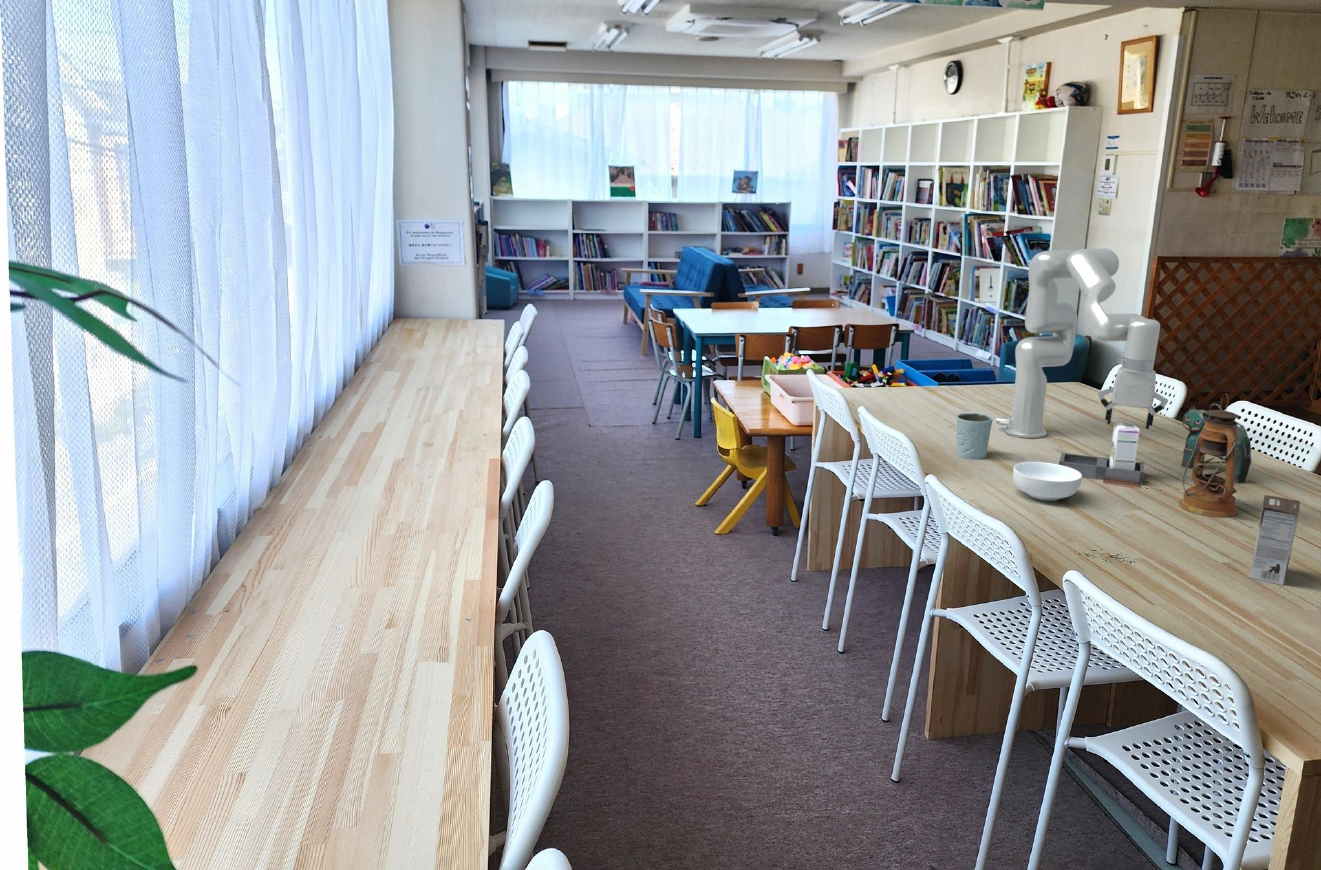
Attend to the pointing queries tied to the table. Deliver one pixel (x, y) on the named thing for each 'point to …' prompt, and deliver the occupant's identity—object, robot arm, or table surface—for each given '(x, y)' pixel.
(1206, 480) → the lantern
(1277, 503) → the coffee box
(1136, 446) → the syrup box
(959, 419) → the embossed ceramic cup
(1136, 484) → the holder
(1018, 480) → the cereal bowl
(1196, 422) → the ceramic cat
